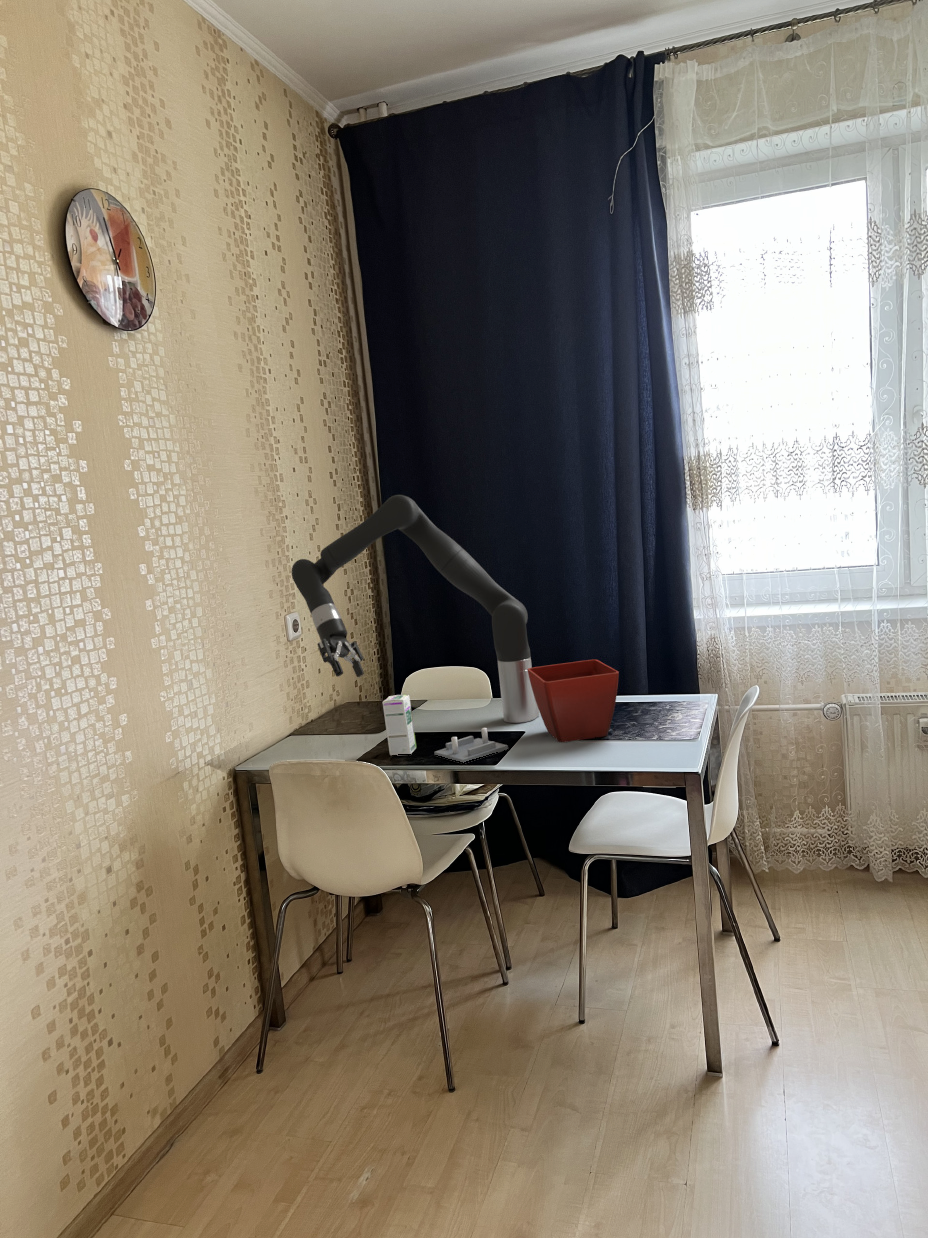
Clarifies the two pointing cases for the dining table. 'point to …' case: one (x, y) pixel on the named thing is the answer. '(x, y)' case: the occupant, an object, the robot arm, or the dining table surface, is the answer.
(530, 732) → the dining table surface
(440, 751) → the pegged rail plate
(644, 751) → the dining table surface
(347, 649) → the robot arm
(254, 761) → the dining table surface
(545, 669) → the plant pot
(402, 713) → the syrup box
